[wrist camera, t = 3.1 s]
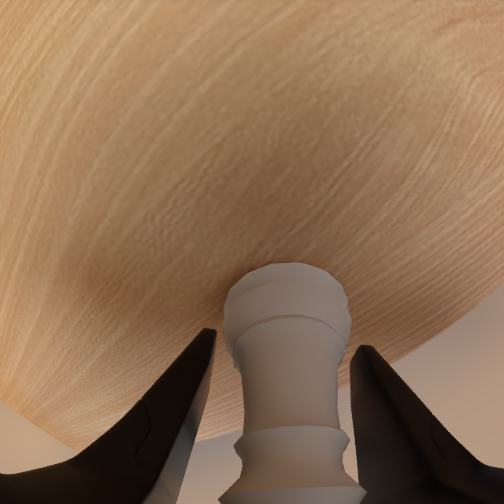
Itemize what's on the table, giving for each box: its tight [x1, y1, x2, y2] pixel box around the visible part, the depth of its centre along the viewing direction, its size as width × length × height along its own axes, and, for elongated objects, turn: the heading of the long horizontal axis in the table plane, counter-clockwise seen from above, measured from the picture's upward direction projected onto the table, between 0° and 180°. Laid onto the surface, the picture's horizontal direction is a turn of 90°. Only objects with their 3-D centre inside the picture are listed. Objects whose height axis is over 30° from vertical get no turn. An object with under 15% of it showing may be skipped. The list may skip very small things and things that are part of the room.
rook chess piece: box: [218, 262, 367, 504], centre depth 7 cm, size 4×4×8 cm
